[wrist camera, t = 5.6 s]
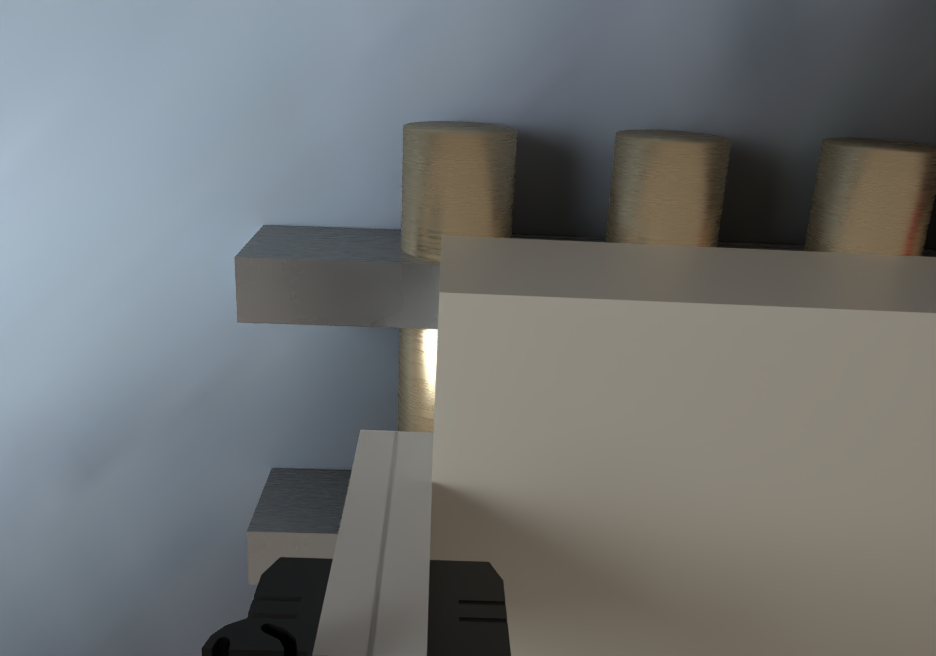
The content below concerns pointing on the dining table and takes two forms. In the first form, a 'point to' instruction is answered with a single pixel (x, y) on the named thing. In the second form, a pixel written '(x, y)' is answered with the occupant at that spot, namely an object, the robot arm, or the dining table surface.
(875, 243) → the rack with metal cylinders
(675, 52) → the dining table surface
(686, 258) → the paver
